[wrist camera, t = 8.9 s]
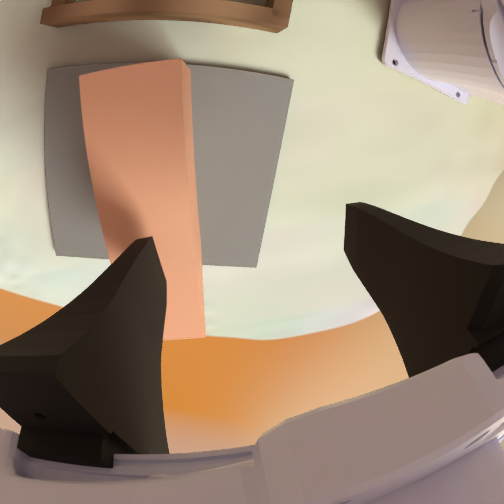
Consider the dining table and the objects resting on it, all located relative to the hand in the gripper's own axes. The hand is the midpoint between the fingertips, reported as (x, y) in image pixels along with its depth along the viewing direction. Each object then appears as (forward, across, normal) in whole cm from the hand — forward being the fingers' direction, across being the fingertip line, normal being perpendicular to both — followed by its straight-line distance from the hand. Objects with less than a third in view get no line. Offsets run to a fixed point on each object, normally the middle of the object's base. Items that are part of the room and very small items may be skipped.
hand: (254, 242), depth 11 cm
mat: (+10, +5, -1) cm, 11 cm away
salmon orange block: (+10, +4, -1) cm, 11 cm away
